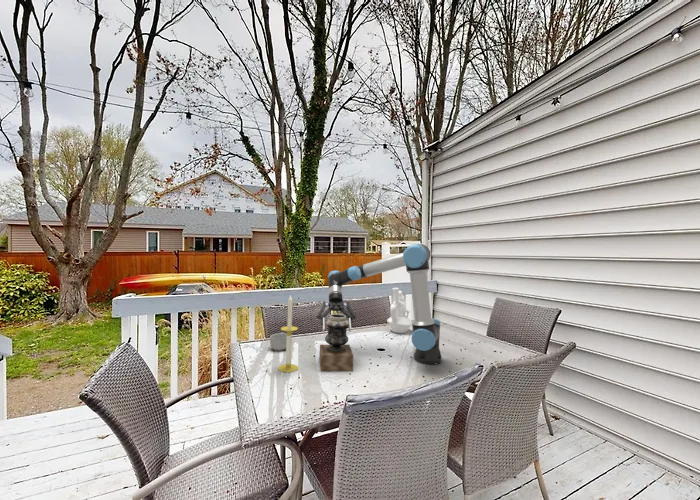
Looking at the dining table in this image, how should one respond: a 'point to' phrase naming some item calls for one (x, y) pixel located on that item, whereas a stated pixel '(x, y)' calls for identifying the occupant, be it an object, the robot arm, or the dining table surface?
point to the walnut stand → (336, 359)
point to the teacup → (278, 341)
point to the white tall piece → (399, 313)
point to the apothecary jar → (337, 333)
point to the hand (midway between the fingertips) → (337, 330)
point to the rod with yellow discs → (289, 341)
